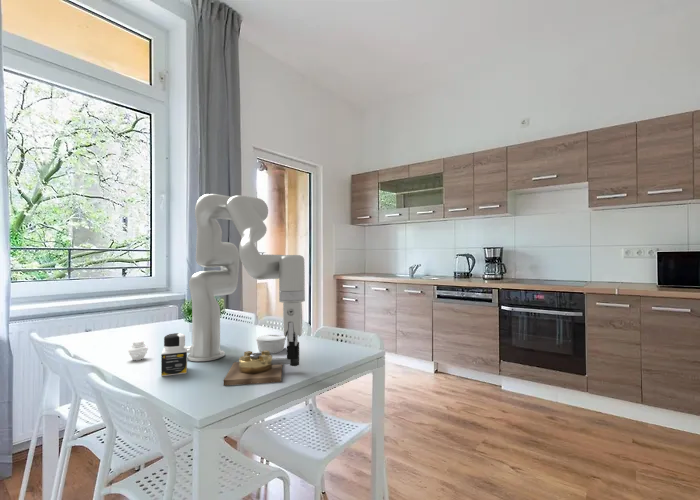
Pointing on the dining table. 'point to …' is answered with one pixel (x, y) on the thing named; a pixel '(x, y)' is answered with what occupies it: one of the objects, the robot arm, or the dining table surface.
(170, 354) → the medicine bottle
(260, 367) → the brass valve
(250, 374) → the walnut board
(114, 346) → the dining table surface
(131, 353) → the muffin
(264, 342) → the ramekin
